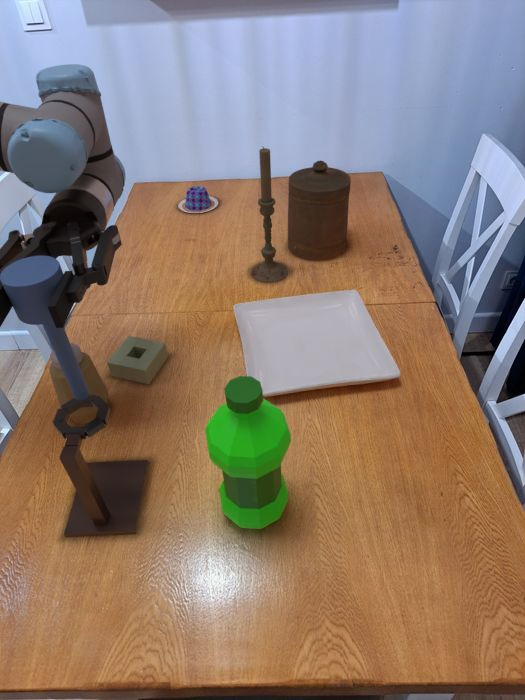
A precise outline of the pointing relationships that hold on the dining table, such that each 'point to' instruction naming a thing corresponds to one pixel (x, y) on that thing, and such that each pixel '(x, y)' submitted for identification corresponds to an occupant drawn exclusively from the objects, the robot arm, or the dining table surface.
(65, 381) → the squeeze bottle
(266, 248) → the candlestick holder
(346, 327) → the square plate
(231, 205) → the dining table surface
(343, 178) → the wooden container
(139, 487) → the peg stand
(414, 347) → the dining table surface
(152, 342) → the socket block
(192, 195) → the pudding
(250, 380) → the plastic bottle
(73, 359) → the peg
